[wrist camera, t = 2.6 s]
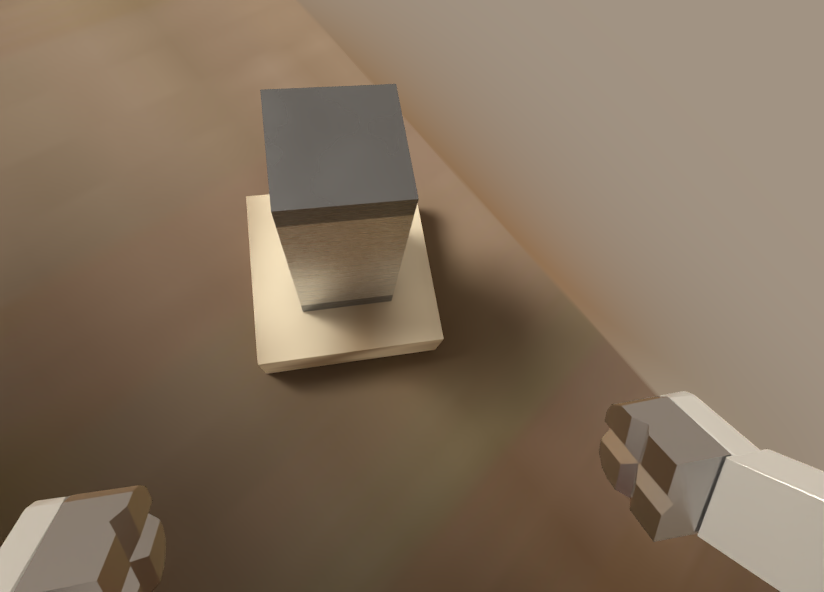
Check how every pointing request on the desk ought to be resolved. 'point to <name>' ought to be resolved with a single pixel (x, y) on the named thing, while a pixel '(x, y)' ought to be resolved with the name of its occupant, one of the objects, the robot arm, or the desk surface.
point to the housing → (339, 190)
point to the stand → (337, 327)
